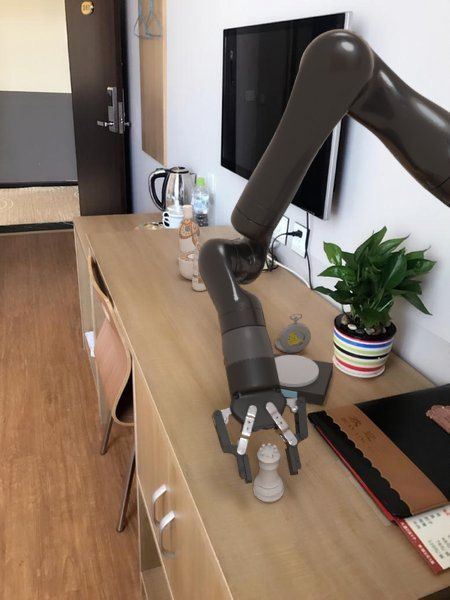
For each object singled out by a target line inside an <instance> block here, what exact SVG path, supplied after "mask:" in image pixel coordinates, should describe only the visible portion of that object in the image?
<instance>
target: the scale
mask: <svg viewBox="0 0 450 600" xmlns="http://www.w3.org/2000/svg"><path fill="white" fill-rule="evenodd" d="M274 358H275V363H276V367H277V372H278V377H279V382H280V387H281V391H282V393H283V395H284V396H285V397H286V399H295V398H299V397H303V398H305V401H306V403H307V404H313V405H317V406H324V403H325V400H326V398H327V394H328V390H329V387H330V385H331V380H332V376H333V373H334V363H333V362H328V361H323V360H316V359H310V358H308V357H305V356H302V355H297V354H285V355H284V354H278V353H274Z"/></svg>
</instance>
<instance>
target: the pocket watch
mask: <svg viewBox="0 0 450 600" xmlns="http://www.w3.org/2000/svg"><path fill="white" fill-rule="evenodd" d="M298 315H299V316H300V317H298ZM293 316H294V317H293ZM292 317H293V318H292ZM302 318H303V314H301V313H293V314H291V315H290V316H289V319H290V320H292V321H293V323H290V324H287V325H286V326H285V327H284V328H283V329H282V330H281V332H280V334H279V336H278V338H276V339H275V341H274V347H275V348H276V349H277V350H279V351H281V352H282V353H288V354H295V353H299V352H302V351H303V350H304V349H306V348H307V347H308V346H309V344H310V342H311V339H312V334H311V330H310V327H308V326H307V325H306V324H304V323H302V322H298V321H299V320H300V319H302Z"/></svg>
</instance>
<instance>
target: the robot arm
mask: <svg viewBox="0 0 450 600" xmlns="http://www.w3.org/2000/svg"><path fill="white" fill-rule="evenodd" d="M295 77H296V78H295V80H294V83H293V86H292V90H291V93H290V96H289V99H288V101H287V103H286V104H287V105H286V108H285V110H284V112H283V115H282V117H281V119H280V121H279V124H278V126H277V128H276V131H274V135H273V137H272V139H271V141H270V142H269V144H268V146H267V148H266V150H265V151H264V153H263V155H262V156H261V158H260V159H259V161H258V163H257V165H256V167H255V168H254V170H253V172H252V174H251V176H250V177H249V179H248V181H247V183H246V184H245V187H244V188H243V191H242V192H241V194H240V196H239V197H238V200H237V202H236V204H235V205H234V208H233V210H232V212H231V214H230V223H231V226H232V228H233V229H234V230H235V231H236V232H237V233H238V234H240V235H242V236H243V238H242V239H241V240H234V239H228V238H221V237H213V238H209V239H207V240H206V241H205V242H204V243H203V244H202V245H201V249H200V252H199V256H198V268H199V272H200V276H201V278H202V281H203V283H204V285H205V287H206V291H207V293H208V296H209V298H210V300H211V303H212V305H213V307H214V309H215V310H216V313H217V317H218V324H219V329H220V336H221V347H222V348H221V349H222V351H221V352H222V356H223V359H222V361H223V365H224V368H225V373H226V379H227V385H228V391H229V396H230V404H229V407H227V408H224V409H215V410H214V411H213V413H212V414H211V420H212V422H213V426H214V429H215V432H216V436H217V439H218V442H219V446H220V449H221V452H222V453H223V454H228V455H229V454H230V455H233V456H234V457H235V459H236V464H237V469H238V476H239V478H240V480H242V481H243V480H244V483H245V485H246V484H252V483H253V476H252V471H251V465H250V459H249V455H248V454H247V448H248V444H249V440H250V437H251V435H252V433H256V432H258V431H261V430H266V431H269V430H272V429H273V430H274V432H275V434H277V435H278V437H280V439H281V440H282V442H283V443H284V445H285V447H286V448H284V452H285V456H286V463H287V468H288V472H289V475H290V476H297V475H299V470H301V469H302V464H301V457H300V454H299V448H298V447H299V444H300V443H301V442H302V441H304V440H306V439H308V438H309V425H308V415H307V413H308V412H307V404H306V401H305V398H303V397H299V398H295V399H286V397H285V396H284V395H283V393H282V391H281V387H280V382H279V377H278V372H277V367H276V363H275V358H274V354H275V353H274V348H273V345H272V341H271V338H270V335H269V331H268V328H267V323H266V318H265V314H264V308H263V304H262V301H261V299H260V297H259V296H258V295H256V294H255V293H253V292H251V291H249V290H246V289H244V288H243V287H242V286H246V285H250V284H252V283H254V282H255V281H256V280H257V279H258V278H260V276H261V275H262V274H263V272H264V269H265V265H266V263H267V262H266V261H267V258H268V253H269V250H270V246H271V243H272V239H273V235H274V232H275V230H276V229H277V227H278V226H279V224H280V222H281V220H282V219H283V217H284V216H285V214H286V212H287V210H288V208H289V207H290V206H291V203H292V201H293V199H294V198H295V196H296V194H297V192H298V190H299V188H300V186H301V184H302V182H303V180H304V178H305V176H306V174H307V171H308V170H309V168H310V166H311V164H312V162H313V161H314V159H315V158H316V156H317V154H318V152H319V150H320V149H321V148H322V146H323V145H324V143H325V141H326V140H327V139H328V137H329V136H330V135H331V133H332V132H333V130H334V129H335V128H336V127H337V126H338V124H339V123H340V122H341V121H342V119H344V117H345V116H346V115H347V116H348V117H349V118H351V119H352V120H354V121H355V122H356V123H358V124H360V125H361V126H362V127H364V128H365V129H367V130H368V131H369V132H370V133H371V134H372V135H373V136H375V137H376V138H377V139H378V140H379V141H380V142H381V144H383V146H384V147H385V149H387V151H388V152H389V153H390V154H391V156H393V158H394V159H395V160H396V161H397V162H398V163H399V164H400V166H401V167H402V168H403V169H404V170H405V171H406V172H407V173H408V174H409V175H410V177H411V178H413V179H414V181H416V182H417V183H418V184H419V185H420V186H421V187H422V188H423V189H424V190H426V191H427V192H428V193H430V194H431V195H432V196H433V197H434V198H436V199H437V200H438V201H440V202H441V203H442V204H443V205H444V206H446V207H448V208H449V209H450V111H448V110H447V109H445V108H444V107H442V106H441V105H439V104H438V103H436V102H435V101H433V100H430V98H428V97H426V96H424V95H423V94H422V93H420V92H418V91H416V90H415V89H414V88H412V87H411V86H410V85H409V84H408V83H406V82H405V80H403V79H402V78H401V76H400V75H398V74H397V73H396V72H395V71H394V70H393V69H392V68H391V67H390V66H389V64H387V63H386V62H385V61H384V60H383V59H382V57H380V56H379V54H378V53H377V52H376V51H375V50H374V49H373V48H372V46H371V45H370V44H369V43H368V41H367V40H366V39H365V38H364V37H363V36H362V35H360V34H359V33H357V32H356V31H353V30H351V29H345V28H339V29H331V30H327V31H326V32H323V33H321V34H319V35H318V36H316V37H315V38H314V39H313V40H312V41H311V42H309V44H308V45H307V47H306V49H305V50H304V52H303V53H302V56H301V59H300V63H299V67H298V72H297V75H296V76H295ZM287 407H288V409H289V412H290V413H291V414H293V417H294V430H295V431H294V432H295V434H294V433H293V431H291V428H290V426H289V425H288V423H287V421H286V420H285V419H284V418H283V414H284V412H285V410H286V408H287ZM230 416H231V417H233V419H234V420H235V421H236V422H237V423H238V424H240V428H239V431H238V435H237V441H236V444H233V443H232V441H231V438H230V435H229V432H228V428H227V424H228V423H229V421H230V420H229V417H230Z"/></svg>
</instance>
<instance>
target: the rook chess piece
mask: <svg viewBox="0 0 450 600" xmlns="http://www.w3.org/2000/svg"><path fill="white" fill-rule="evenodd" d="M277 447H278V446H277V445H275V444H273V445H272V443H270V442H268V443H267V445H266V443H262V444H261V447H259V449H258V451H257V453H256V457H257V459H258V466H259V473H258V474H257V475H256V477H255V479H254V481H253V488H252V492H253V494H254V496H256V498H258V500H260V501H262V502H264V503H273V502H276V501H278V500H279V499H281V498H282V496H283V495H284V491H285V490H284V489H285V487H284V483H283V480H282V478H281V476H280V475H279V471H278V467H279V463H280V461H279V460H280V458H281V452H280V451H279V449H278V448H277Z"/></svg>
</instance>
